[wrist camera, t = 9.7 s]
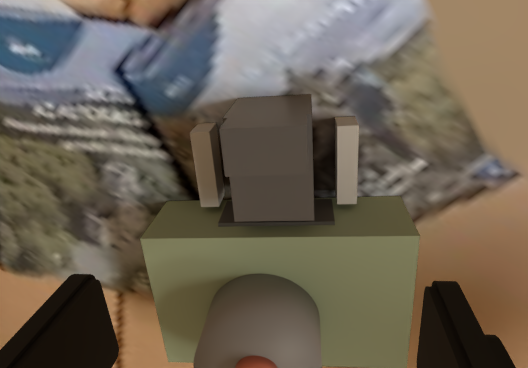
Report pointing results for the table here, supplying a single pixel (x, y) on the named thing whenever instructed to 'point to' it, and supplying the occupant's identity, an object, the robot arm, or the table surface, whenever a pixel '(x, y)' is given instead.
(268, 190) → the dark grey block
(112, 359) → the robot arm
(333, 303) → the green base with button
